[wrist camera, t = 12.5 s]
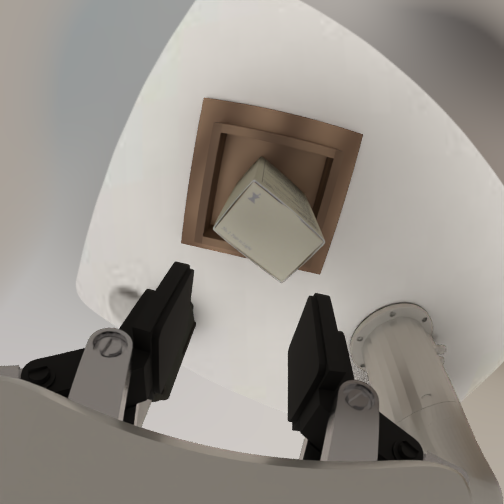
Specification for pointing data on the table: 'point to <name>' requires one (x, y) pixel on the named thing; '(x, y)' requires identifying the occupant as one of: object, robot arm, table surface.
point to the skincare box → (270, 221)
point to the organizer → (274, 151)
